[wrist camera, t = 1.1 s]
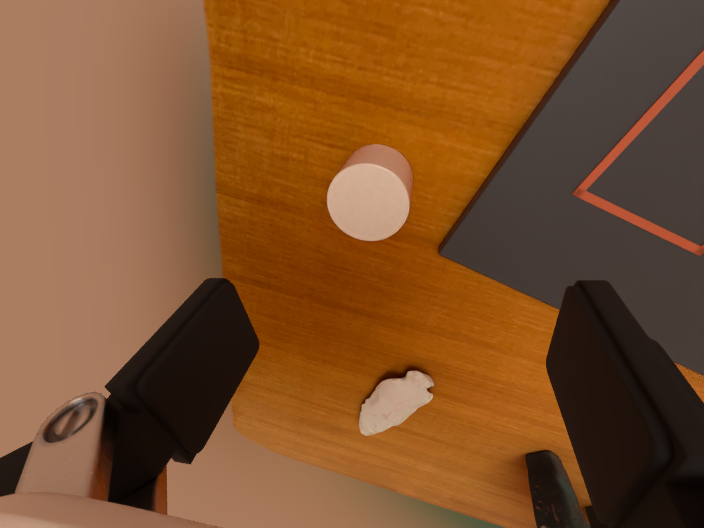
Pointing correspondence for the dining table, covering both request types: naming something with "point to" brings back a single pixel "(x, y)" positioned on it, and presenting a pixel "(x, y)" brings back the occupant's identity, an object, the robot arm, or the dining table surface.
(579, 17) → the dining table surface
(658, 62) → the board
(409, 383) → the stone tool
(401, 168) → the white cylinder
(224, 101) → the dining table surface
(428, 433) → the dining table surface
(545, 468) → the ceramic cat
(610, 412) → the robot arm
